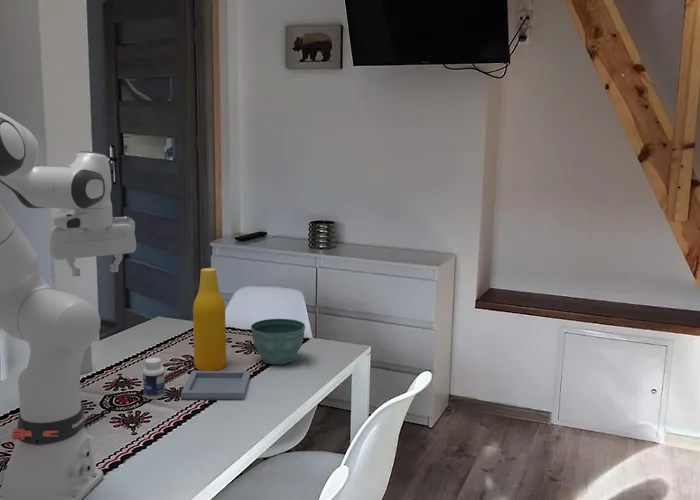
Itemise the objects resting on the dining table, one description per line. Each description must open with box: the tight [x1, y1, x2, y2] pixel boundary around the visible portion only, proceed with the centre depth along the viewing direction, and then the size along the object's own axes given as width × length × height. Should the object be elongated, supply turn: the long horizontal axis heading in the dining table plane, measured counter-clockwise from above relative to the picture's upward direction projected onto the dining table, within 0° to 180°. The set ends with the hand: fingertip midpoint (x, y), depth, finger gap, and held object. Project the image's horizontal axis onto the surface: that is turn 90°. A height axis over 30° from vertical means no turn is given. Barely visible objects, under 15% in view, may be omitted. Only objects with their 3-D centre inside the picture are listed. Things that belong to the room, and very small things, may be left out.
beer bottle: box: [192, 267, 227, 371], centre depth 206 cm, size 9×9×29 cm
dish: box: [180, 370, 251, 401], centre depth 192 cm, size 16×16×2 cm
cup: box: [80, 344, 93, 376], centre depth 202 cm, size 7×10×9 cm
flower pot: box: [250, 318, 306, 366], centre depth 214 cm, size 16×16×11 cm
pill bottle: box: [142, 357, 166, 400], centre depth 185 cm, size 5×5×10 cm
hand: (95, 273), depth 176 cm, fingers open, 8 cm apart
